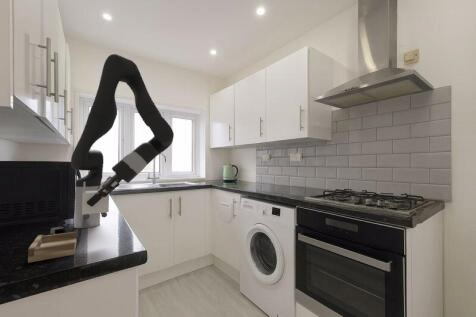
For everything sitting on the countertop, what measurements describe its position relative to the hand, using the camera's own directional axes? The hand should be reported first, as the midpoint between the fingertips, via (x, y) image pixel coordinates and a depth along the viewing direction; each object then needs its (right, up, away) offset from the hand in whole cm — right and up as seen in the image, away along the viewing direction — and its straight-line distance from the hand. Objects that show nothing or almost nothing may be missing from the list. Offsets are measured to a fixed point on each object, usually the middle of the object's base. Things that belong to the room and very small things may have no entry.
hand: (89, 203), depth 72 cm
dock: (-7, -14, -5) cm, 16 cm away
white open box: (+1, -5, +1) cm, 5 cm away
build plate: (-15, -15, +6) cm, 22 cm away
